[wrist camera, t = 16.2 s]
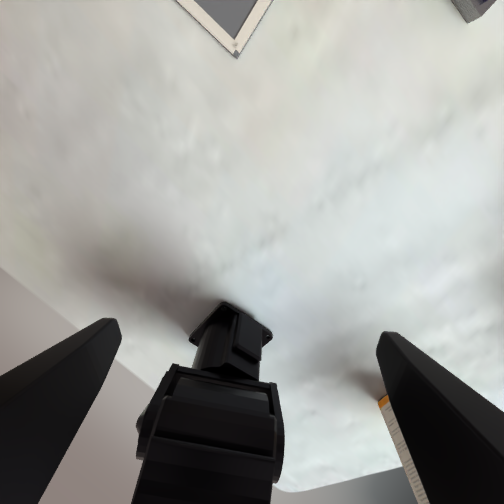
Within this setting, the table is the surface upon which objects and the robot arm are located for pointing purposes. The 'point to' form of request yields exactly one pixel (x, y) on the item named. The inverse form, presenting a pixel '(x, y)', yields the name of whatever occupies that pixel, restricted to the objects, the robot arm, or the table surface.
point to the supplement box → (402, 450)
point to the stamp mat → (228, 19)
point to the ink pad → (472, 8)
